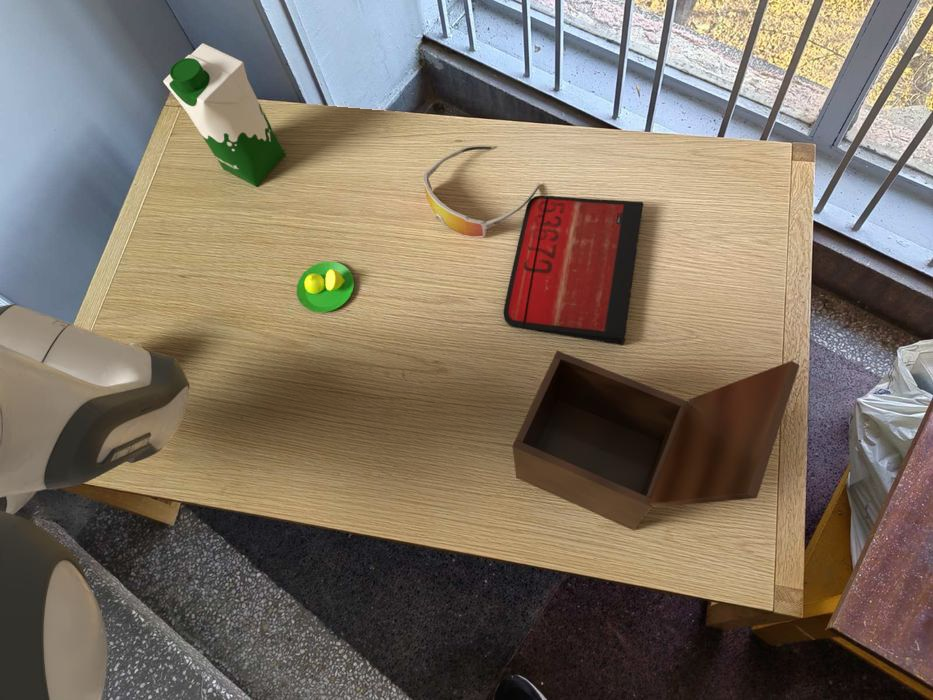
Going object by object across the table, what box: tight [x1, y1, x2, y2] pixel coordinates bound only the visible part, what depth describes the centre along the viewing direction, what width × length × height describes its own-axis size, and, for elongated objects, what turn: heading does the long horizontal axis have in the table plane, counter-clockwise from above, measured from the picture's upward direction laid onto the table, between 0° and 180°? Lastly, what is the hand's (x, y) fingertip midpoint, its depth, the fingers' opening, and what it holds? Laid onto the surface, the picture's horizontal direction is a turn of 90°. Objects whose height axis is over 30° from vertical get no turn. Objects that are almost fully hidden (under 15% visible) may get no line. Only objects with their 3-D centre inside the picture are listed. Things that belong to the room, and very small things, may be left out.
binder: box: [503, 195, 644, 346], centre depth 91 cm, size 16×2×21 cm
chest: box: [511, 350, 688, 531], centre depth 75 cm, size 15×12×13 cm
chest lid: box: [649, 360, 800, 509], centre depth 59 cm, size 16×12×1 cm
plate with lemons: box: [296, 261, 355, 313], centre depth 93 cm, size 8×8×3 cm
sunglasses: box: [423, 145, 541, 239], centre depth 97 cm, size 14×15×5 cm
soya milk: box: [162, 42, 286, 188], centre depth 96 cm, size 9×9×20 cm
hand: (76, 375), depth 80 cm, fingers open, 8 cm apart
